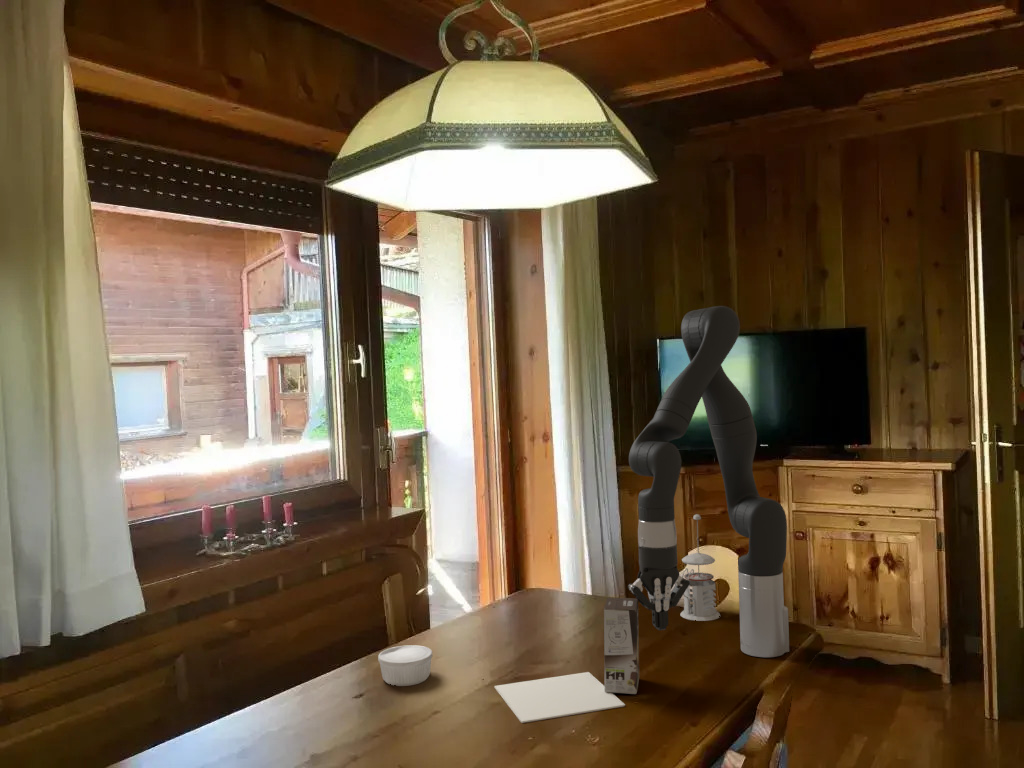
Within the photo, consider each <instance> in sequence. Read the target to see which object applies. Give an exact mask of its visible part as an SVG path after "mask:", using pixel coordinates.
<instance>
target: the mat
mask: <svg viewBox="0 0 1024 768" xmlns="http://www.w3.org/2000/svg"><path fill="white" fill-rule="evenodd" d="M493 687H494V689H495V690H496V692H497V693H498V694H499V695H500V696H501V698H502V699H503V701H504V702H505V704H506V705H507V706H508V708H509V709H510V710H511V711H512V712H513V714H514V715H515V716H516V718H517V720H519V722H520V723H521V724H524V723H531V722H537V721H542V720H549V719H555V718H561V717H568V716H573V715H580V714H584V713H585V714H586V713H592V712H598V711H603V710H609V709H616V708H623V707H625V706H626V704H625V703H624V702H623V701H622V700H620V698H618V697H617V696H616V695H615V693H612V692H605V691H604V690H605V686H604V684H603V683H602V682H601V681H599V679H597V678H596V677H595V676H593V674H592V673H590V672H589V671H586V672H578V673H571V674H566V675H560V676H558V675H557V676H553V677H551V676H550V677H544V678H539V679H533V680H526V681H525V680H524V681H519V682H511V683H506V684H499V685H494V686H493Z"/></svg>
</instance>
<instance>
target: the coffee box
mask: <svg viewBox="0 0 1024 768" xmlns="http://www.w3.org/2000/svg"><path fill="white" fill-rule="evenodd" d="M639 636H640V635H639V601H638V599H637V598H636V597H635V598H633V597H632V598H631V597H622V598H621V597H616V598H614V597H612V598H611V597H607V599H606V601H605V604H604V608H603V643H604V644H603V645H604V646H603V647H604V648H603V653H604V655H603V656H604V657H603V659H604V660H603V662H604V667H603V668H604V671H603V672H604V673H603V674H604V677H603V678H604V681H603V682H604V684H603V685H604V686H605V690H604V691H605V692H612V693H613V694H629V695H637V692H638V688H639V680H640V649H639V648H640V647H639V645H640V643H639V642H640V641H639V640H640V637H639Z"/></svg>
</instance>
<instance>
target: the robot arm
mask: <svg viewBox="0 0 1024 768" xmlns="http://www.w3.org/2000/svg"><path fill="white" fill-rule="evenodd" d="M740 330H741V325H740V320H739V316H738V315H737V313H736V312H735V311H734V309H732V308H731V307H728V306H726V305H716V306H715V305H714V306H711V307H706V308H704V307H703V308H698V309H694V310H691V311H688V312H687V313H686V314H684V316H683V318H682V321H681V325H680V332H681V339H682V343H683V346H684V348H685V351H686V354H687V356H688V359H689V363H688V364H687V366H686V367H685V368H684V369H683V370H682V371H681V372H680V373H679V375H678V376H677V377H676V378H675V379H674V380H673V381H672V382H671V384H670V385H669V386H668V387H667V389H666V390H665V392H664V393H663V396H662V397H661V400H660V402H659V404H658V406H657V409H656V411H655V412H654V415H653V418H652V419H651V420H650V421H649V423H648V424H647V425H646V426H645V427H644V429H643V430H642V431H641V432H640V433H639V435H638V436H637V437H636V439H635V440H634V441H633V443H632V445H631V447H630V450H629V454H628V464H629V467H630V469H631V471H632V472H634V473H635V474H636V475H638V476H644V477H650V478H651V477H652V478H653V480H652V484H651V487H649V488H645V489H642V490H640V492H639V493H638V497H637V502H638V503H637V504H638V505H637V506H638V525H637V527H638V528H637V543H638V544H637V546H638V566H639V571H638V574H637V579H636V580H634V582H633V583H629V584H628V585H627V588H628V590H629V591H630V593H631V594H632V595H633V596H634V597H635V598H636V599H638V603H639V604H641V606H642V607H644V608H646V609H647V610H648V611H651V615H652V617H651V620H652V622H651V624H652V626H653V627H654V628H655V629H656V630H658V631H664V630H667V627H668V626H669V610H670V608H672V607H676V606H677V605H678V603H679V602H680V600H681V599H682V597H684V595H683V594H684V592H685V591H686V589H687V588H688V586H689V584H690V582H689V580H687V579H686V578H685V577H684V576H683V577H682V575H680V571H679V569H678V547H677V546H678V545H677V544H678V542H677V541H678V536H677V526H676V520H675V497H676V496H675V495H676V491H677V486H678V484H679V483H678V482H679V479H680V474H681V469H682V456H681V453H680V451H679V449H678V448H677V446H676V445H675V444H673V443H672V442H671V441H673V440H678V439H681V438H682V437H684V435H685V434H686V432H687V431H688V428H689V425H690V423H691V421H692V419H693V417H694V415H695V412H696V409H697V407H698V405H699V403H700V401H701V400H702V403H703V406H704V409H705V413H706V419H707V423H708V427H709V430H710V434H711V438H712V442H713V446H714V447H715V453H716V457H717V460H718V461H717V462H718V464H719V467H720V468H719V469H720V473H721V475H722V477H721V478H722V480H723V487H724V493H725V500H726V506H727V514H728V519H729V522H730V524H731V527H732V528H733V530H734V531H735V532H736V533H737V534H738V535H740V536H742V537H744V538H748V552H747V554H743V555H741V556H740V557H739V558H738V561H737V570H738V571H737V573H738V575H737V576H738V578H737V579H738V580H737V581H738V604H739V606H738V607H739V634H740V635H739V636H740V637H739V639H740V640H739V642H740V651H741V652H742V653H744V654H746V655H748V656H752V657H758V658H775V657H776V658H777V657H780V656H783V655H784V654H785V653H788V652H790V638H789V637H790V635H789V634H790V633H789V631H790V630H789V609H788V607H787V606H785V604H784V603H785V602H784V600H785V599H784V598H785V597H784V573H783V572H784V571H783V570H784V569H783V568H784V563H785V560H786V557H787V538H788V537H787V533H788V525H787V523H788V522H787V515H786V512H785V509H784V507H783V505H782V504H781V503H780V502H778V501H777V500H775V499H772V498H767V497H762V496H760V494H759V492H758V489H757V485H756V481H755V478H754V471H753V464H754V457H755V453H756V449H757V448H756V447H757V439H758V437H757V436H758V434H757V430H756V426H755V422H754V418H753V414H752V409H751V406H750V404H749V403H748V401H747V399H746V397H745V396H744V395H743V393H742V392H741V391H740V390H739V389H738V388H737V386H736V385H735V384H734V383H733V381H732V380H731V379H730V378H729V377H728V375H727V373H726V372H725V370H724V368H723V366H722V364H723V363H724V361H726V360H725V359H726V358H727V357H728V355H729V354H730V352H731V351H732V349H733V348H734V346H735V344H736V342H737V341H738V339H739V335H740ZM643 589H645V590H646V591H647V596H648V598H647V596H646V595H645V594H644V593H643V591H644V590H643Z"/></svg>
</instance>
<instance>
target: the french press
mask: <svg viewBox="0 0 1024 768" xmlns="http://www.w3.org/2000/svg"><path fill="white" fill-rule="evenodd" d="M693 520H696V538H697V541H696V542H697V543H699V520H702V517H701V515H700V514H697V513H696V514H694V515H693ZM699 550H700V549H699V545H697V552H696V553H695V552H694V553H690V554H687V555H685V556H684V557H683V558H681V561H682V563H683V564H685V565H689V566H697V567H698V569H697V570H698V571H697V572H695V570H694V569H693V568H692V569H691V570H690V571H689V569H688V568H685V569H684V570H683V572H682V575H681V577H683V578H684V579H687V580H689V582H690V584H689V586H688V588H687V589H686V591H685V592H684V594H683V610H682V611H681V612H680V617H682V618H683V619H686V620H688V621H695V620H696V621H698V622H700V621H701V622H703V621H704V622H706V621H707V622H708V621H715V620H717V619H719V618H720V617H721V614H720V612H719V611H718V610H717V608H716V606H717V603H716V602H717V598H715V597H716V596H717V595H716V594H717V593H715V592H716V581H715V580H713V579H714V575H713V574H712V573H708V572H701V571H700V566H704V565H705V566H707V565H712V564H713V563H715V562H716V559H715V558H714V557H713V556H711V555H709V554H706V553H702V552H699ZM685 572H687V573H686V574H685ZM719 616H720V617H719Z"/></svg>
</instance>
